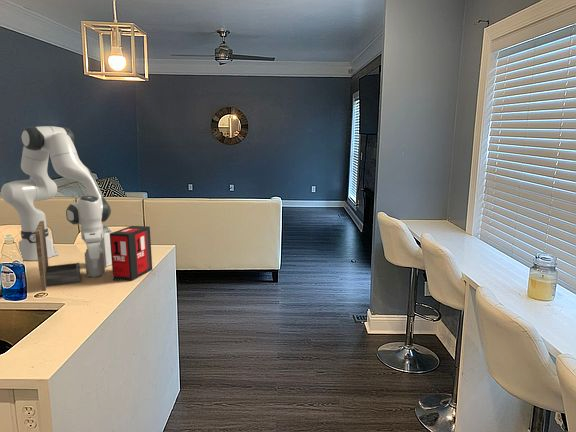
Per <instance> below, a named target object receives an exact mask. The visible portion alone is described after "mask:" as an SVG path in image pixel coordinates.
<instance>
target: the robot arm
mask: <svg viewBox="0 0 576 432" xmlns="http://www.w3.org/2000/svg"><path fill="white" fill-rule="evenodd" d="M20 138H21V143H22V145H23V147H22V152H21V153H22V156H21V160H20V169H21V170H22V172H23V173H24V174H26V175H28V176H29V179H22V180H13V181H10V182H7V183H4V184H3V185H2V187H1V189H0V195H1V198H2V199H3V201H4V202H6V203H7V204H9V205H10V206H12V207H13V208H14V209H15V210H16V212H17V214H18V216H19V221H20V228H21V230H20V237H21V239H20V241H18V251H19V250H20V252H21V255H22V258H23V260H22V261H38V256H37V247H36V238H35V230H36V228H37V226H38V224H39V222H40V221H44V227H45V237H46V246H47V256H48V259H49V258H52V257H57V256H59V252H58V251H57V250H56V249H55V245H54V244H53V239H52V238H51V237H50V236H49V235H50V234H49V233H50V232H49V228H47V227H48V226H47V225H48V224H47V216H46V213H45V212H44V211H43V210H41V209H38V208H36V207H35V204H34V202H41V201H48V200H50V199H53V198H55V197H56V195H57V194H58V186H57V183H56V182H55V181H54V180H53V179H51V177H50V176H49V174H48V167H49V165H48V164H49V158H50V162H51V164H52V167H53V170H54V171H55V173H56V174H58V175H59V176H61V177H63V178H65V179H69V180H73V181H77V182H79V183H80V184H82V185H83V186H84V187H85V189H86V191H87V194H88V195H84V196H81V197H79V199H78V201H76V202H73V203H71V204H69V205H68V207H66V210H65V215H66V216H65V217H66V220H67V221H68V222H69V223H70V224H72V225H73V226H75V225H76V226H79V225H80V237H81V240H83V242H84V243H85V245H86V249H88V254H89V258H90V260H92V263H93V268H97V267H98V266H97V260H99V257H100V241H101V240H102V238H103V237H104V234H103V225H104V224H103V223H104V222H106V221H107V220H108V219H109V217H110V216H111V214H112V213H111V212H112V209H111V207H110V205H109V203H108V201H107V199H106V198H105V197H104V195H103V192H102V191H101V189H100V186H99V184H98V182H97V181H96V178H95V176H94V174H93V172H92V170H91V169H90V168H89V167H88V166H86V165H85V164H83V162H82V160H80V158H79V154H78V152H77V149H76V147H75V135H74V133H73V131H72V130H71V129H70V128H69V127H65V126H60V127H59V126H52V125H51V126H50V125H47V126H45V125H44V126H43V125H42V126H32V125H31V126H27V127H24V128H23V130H22V131H21V136H20Z"/></svg>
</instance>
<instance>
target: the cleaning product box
mask: <svg viewBox="0 0 576 432" xmlns="http://www.w3.org/2000/svg"><path fill="white" fill-rule="evenodd" d="M112 232H113V233H110V246H111V258H112V264H111V268H112V269H111V271H112V279H113V281H124V280H125V281H126V282H127V281H128V282H133V281H135V280H136V279H138V278H140V277H142V276H143V275H146V274H147V273H149V272H151V271H153V256H152V242H151V241H152V240H151V227H150V226H146V225H130V226H127V227H125V228H124V227H123V228H122V229H119V230H116V231H112Z"/></svg>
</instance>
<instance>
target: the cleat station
mask: <svg viewBox="0 0 576 432" xmlns="http://www.w3.org/2000/svg"><path fill="white" fill-rule="evenodd" d="M35 238H36V247H37V256H38V260H37V263H38V271H39V281H40V282H39V283H40V291H41V292H46V290H47V287H52V286H54V287H55V286H60V285H61V286H62V285H68V284H69V285H70V284H77V283H81V269H80V268H81V267H80V266H81V265H80V262H75V263H66V264H65V263H64V264H57V265H49V258H48V256H47V246H46V237H45V227H44V221H40V222H39V224H38V226H37V228H36V230H35Z"/></svg>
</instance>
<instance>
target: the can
mask: <svg viewBox="0 0 576 432" xmlns="http://www.w3.org/2000/svg"><path fill="white" fill-rule="evenodd" d="M101 249H102V248H100V257H99V260H97V266H98V267H97V268H93V263H92V260H90V258H89V254H88V249H87V248H86V250H85V252H84V260H85V261H84V262H85V271H86V275H87V276H88V278H99V277H100V278H101V277H103V275H105V273H106V267H105V266H104V254H103V251H102V250H101Z"/></svg>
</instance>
